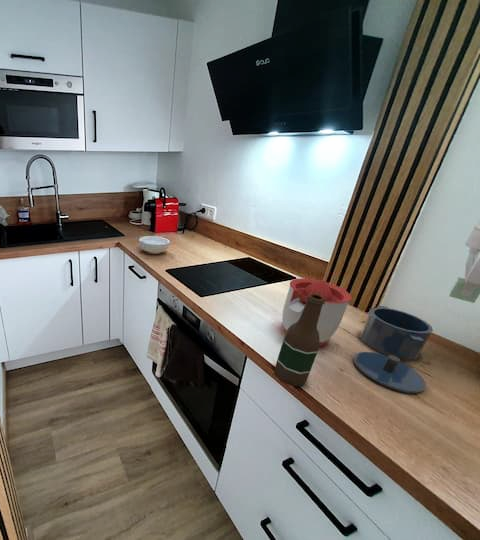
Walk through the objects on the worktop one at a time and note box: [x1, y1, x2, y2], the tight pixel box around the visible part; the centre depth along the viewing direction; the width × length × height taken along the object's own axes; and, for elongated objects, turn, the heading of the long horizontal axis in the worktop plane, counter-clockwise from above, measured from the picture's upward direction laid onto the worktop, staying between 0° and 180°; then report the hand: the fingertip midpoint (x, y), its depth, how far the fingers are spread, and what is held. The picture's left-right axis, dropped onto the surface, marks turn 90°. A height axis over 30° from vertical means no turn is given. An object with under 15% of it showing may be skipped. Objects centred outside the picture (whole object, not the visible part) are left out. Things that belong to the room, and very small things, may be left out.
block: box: [448, 277, 480, 304], centre depth 76 cm, size 4×4×4 cm
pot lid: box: [353, 351, 427, 394], centre depth 76 cm, size 15×15×5 cm
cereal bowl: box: [138, 235, 171, 255], centre depth 160 cm, size 17×17×7 cm
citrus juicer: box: [281, 277, 352, 347], centre depth 88 cm, size 16×17×20 cm
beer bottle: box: [273, 294, 325, 388], centre depth 70 cm, size 8×8×24 cm
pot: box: [359, 305, 434, 361], centre depth 87 cm, size 14×19×10 cm
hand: (465, 291), depth 76 cm, fingers closed on block, 4 cm apart
